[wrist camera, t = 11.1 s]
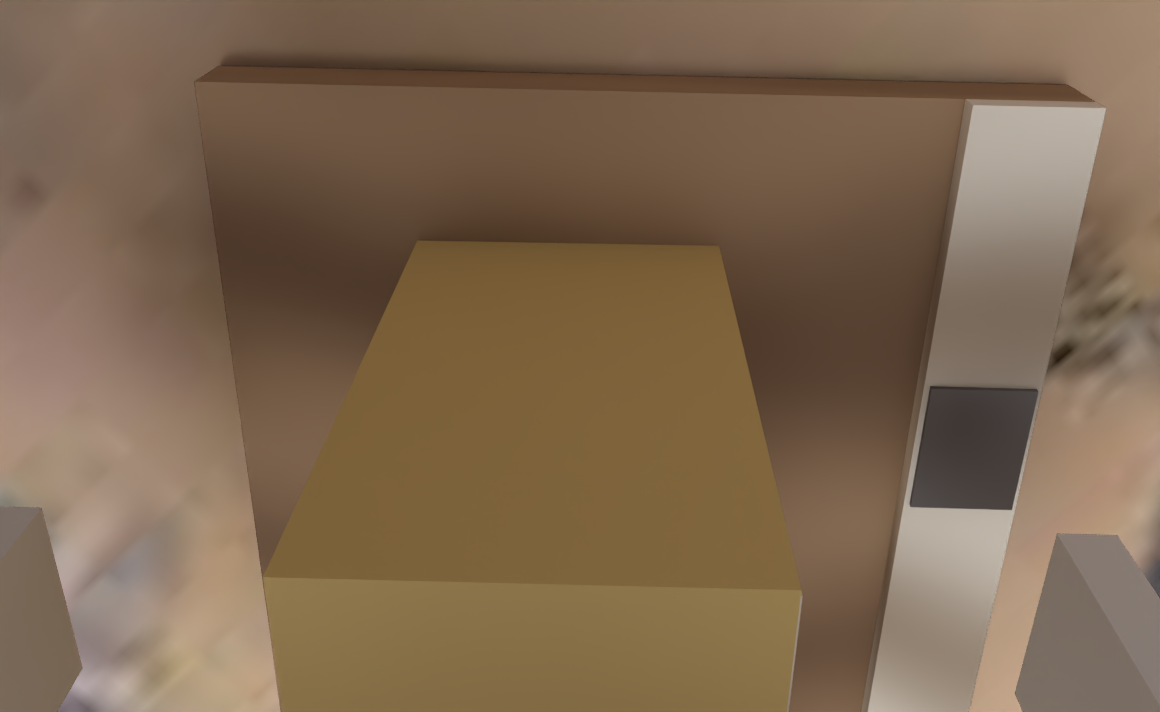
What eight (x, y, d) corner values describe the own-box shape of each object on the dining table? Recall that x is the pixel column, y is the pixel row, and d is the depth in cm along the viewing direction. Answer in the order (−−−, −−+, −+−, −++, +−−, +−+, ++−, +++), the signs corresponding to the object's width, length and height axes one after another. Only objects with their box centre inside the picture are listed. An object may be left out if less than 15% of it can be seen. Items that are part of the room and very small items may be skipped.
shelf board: (218, 65, 18) (183, 88, 17) (1067, 85, 18) (1109, 109, 17) (323, 888, 27) (305, 952, 26) (894, 909, 27) (911, 975, 25)
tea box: (437, 580, 21) (331, 1044, 13) (416, 240, 18) (262, 577, 10) (706, 587, 21) (762, 1058, 13) (731, 245, 18) (824, 590, 10)
